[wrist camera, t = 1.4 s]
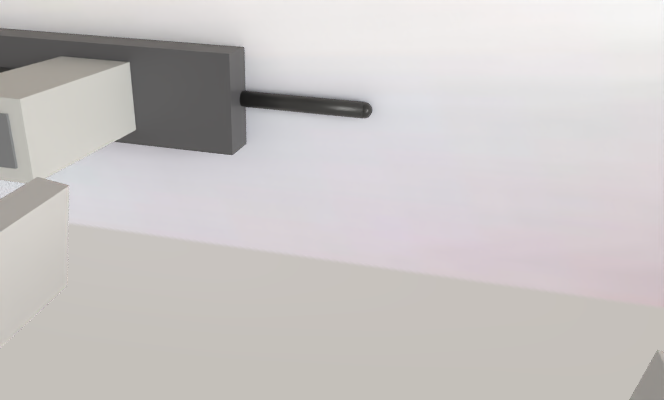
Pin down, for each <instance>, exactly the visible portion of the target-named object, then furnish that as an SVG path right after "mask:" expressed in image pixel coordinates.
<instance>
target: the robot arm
mask: <svg viewBox="0 0 664 400" xmlns="http://www.w3.org/2000/svg"><path fill="white" fill-rule="evenodd" d="M68 221H69V185H65V184H62V183H58V182H54V181H51V180H47V179H44V178H40V177H36V178H35V179H33V180H31V181H30V182H28V183H26V184H25V185H23V186H21V187H20V188H18V189H16V190H15V191H13V192H11V193H10V194H8V195H6V196H5V197H3V198H1V199H0V348H1V347H2V346H3V345H4V344H5V343H7V342H8V341H9V340H10V339H11V338H12V337H13V336H14V335H15V334H16V333H17V332H18V331H19V330H20V329H22V328H23V327H24V326H25V325H26V324H27V323H28V322H29V321H30V320H31V319H32V318H33V317H34V316H36V314H38V313H39V312H40V311H41V310H42V309H43V308H44V307H45V306H46V305H48V303H50V302H51V301H52V300H53V299H54V298H55V297H56V296H57V295H58V294H59V293H60V292H61V291H63V290H64V289H65V288H66V287H67V275H68V274H67V273H68ZM629 400H664V352H663V351H659V350H657V352H656V353H655V355H654V357H653V359H652V360H651V362H650V364H649V366H648V368H647V369H646V371H645V373H644V375H643V377H642V378H641V380H640V382H639V384H638V385H637V387H636V389H635V391H634V392H633V394H632V396H631V398H630V399H629Z"/></svg>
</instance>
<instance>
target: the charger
mask: <svg viewBox="0 0 664 400" xmlns="http://www.w3.org/2000/svg"><path fill="white" fill-rule="evenodd" d="M135 130H136V124H135V114H134V103H133V93H132V82H131V72H130V62H122V61H111V60H99V59H87V58H76V57H64V56H61V57H57V58H53V59H50V60H46V61H42V62H38V63H35V64H31V65H27V66H24V67H20V68H16V69H13V70H9V71H5V72H2V73H0V180H5V181H12V182H20V183H28V182H30V181H31V180H33V179H35V178H36V177H40V178H44V179H45V178H47V177H49V176H51V175H53V174H55V173H57V172H58V171H60V170H62V169H64V168H66V167H68V166H70V165H72V164H73V163H75V162H77V161H79V160H81V159H83V158H85V157H86V156H88V155H90V154H92V153H94V152H96V151H98V150H99V149H101V148H103V147H105V146H107V145H109V144H111V143H113V142H114V141H116V140H118V139H120V138H122V137H124V136H126V135H127V134H129V133H131V132H133V131H135Z"/></svg>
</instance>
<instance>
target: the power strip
mask: <svg viewBox="0 0 664 400" xmlns="http://www.w3.org/2000/svg"><path fill="white" fill-rule="evenodd" d="M61 56H64V57H76V58H87V59H99V60H111V61H122V62H130V72H131V82H132V93H133V103H134V114H135V124H136V130H135V131H133V132H131V133H129V134H127V135H126V136H124V137H122V138H120V139H118V140H116V141H114V142H122V143H131V144H139V145H148V146H157V147H166V148H174V149H183V150H192V151H201V152H209V153H218V154H227V155H233V154H234V153H236V152H237V151H238V150H239V149H240V148H242V147H243V146H244V145H245V144H246V107H252V108H263V109H273V110H283V111H293V112H304V113H314V114H324V115H334V116H345V117H355V118H367V117H369V116H370V115H371V113H372V107H371V105H370V104H368V103H366V102H358V101H347V100H336V99H325V98H314V97H304V96H293V95H282V94H271V93H260V92H249V91H245V60H244V47H234V46H221V45H208V44H195V43H182V42H169V41H156V40H143V39H130V38H117V37H104V36H92V35H79V34H66V33H53V32H40V31H27V30H14V29H1V28H0V73H2V72H5V71H9V70H13V69H16V68H20V67H24V66H27V65H31V64H35V63H38V62H42V61H46V60H50V59H53V58H57V57H61Z"/></svg>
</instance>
